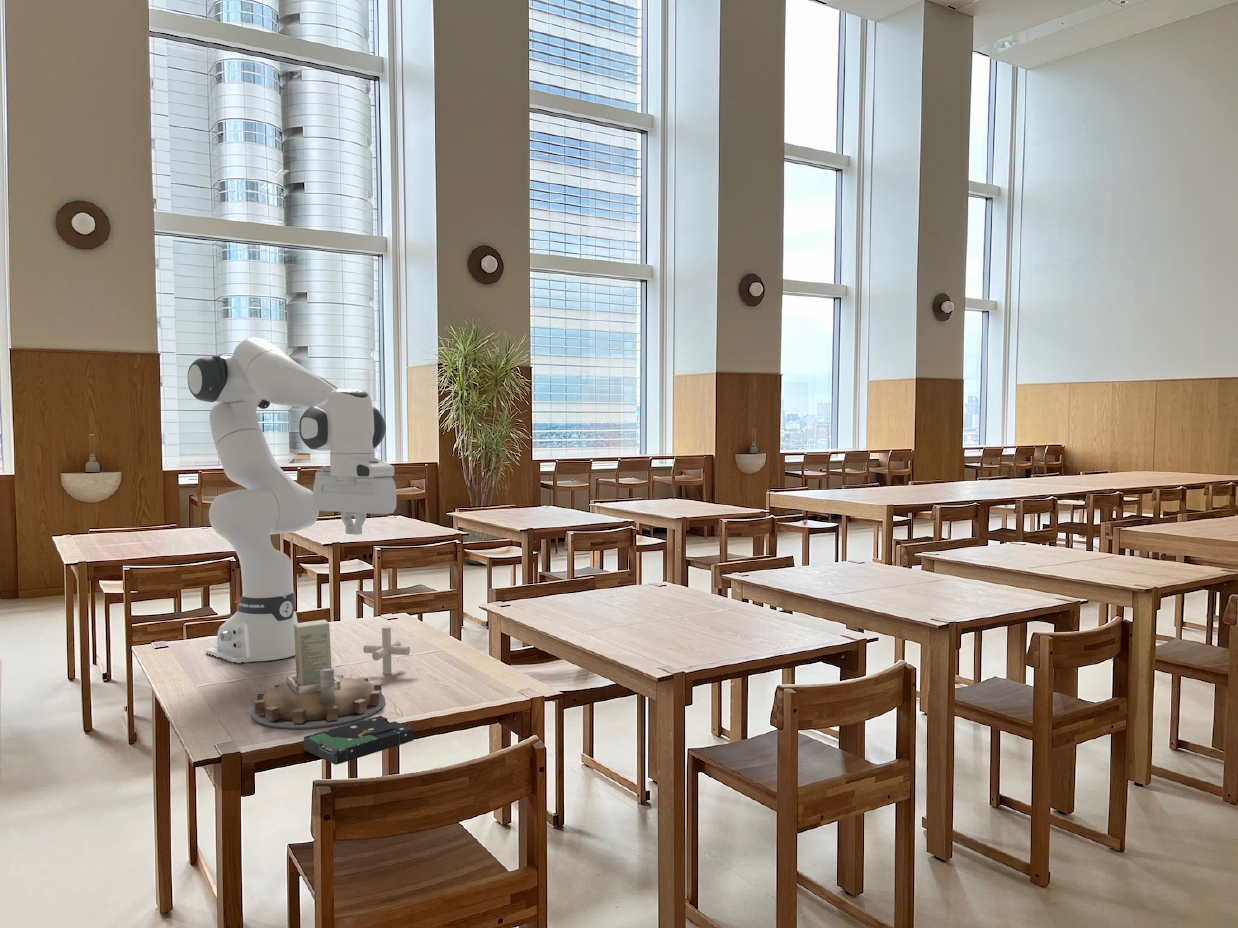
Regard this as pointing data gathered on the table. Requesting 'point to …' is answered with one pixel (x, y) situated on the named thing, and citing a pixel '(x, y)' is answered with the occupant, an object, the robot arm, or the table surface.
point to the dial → (318, 698)
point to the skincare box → (311, 651)
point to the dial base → (318, 723)
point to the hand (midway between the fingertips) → (353, 534)
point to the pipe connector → (386, 649)
